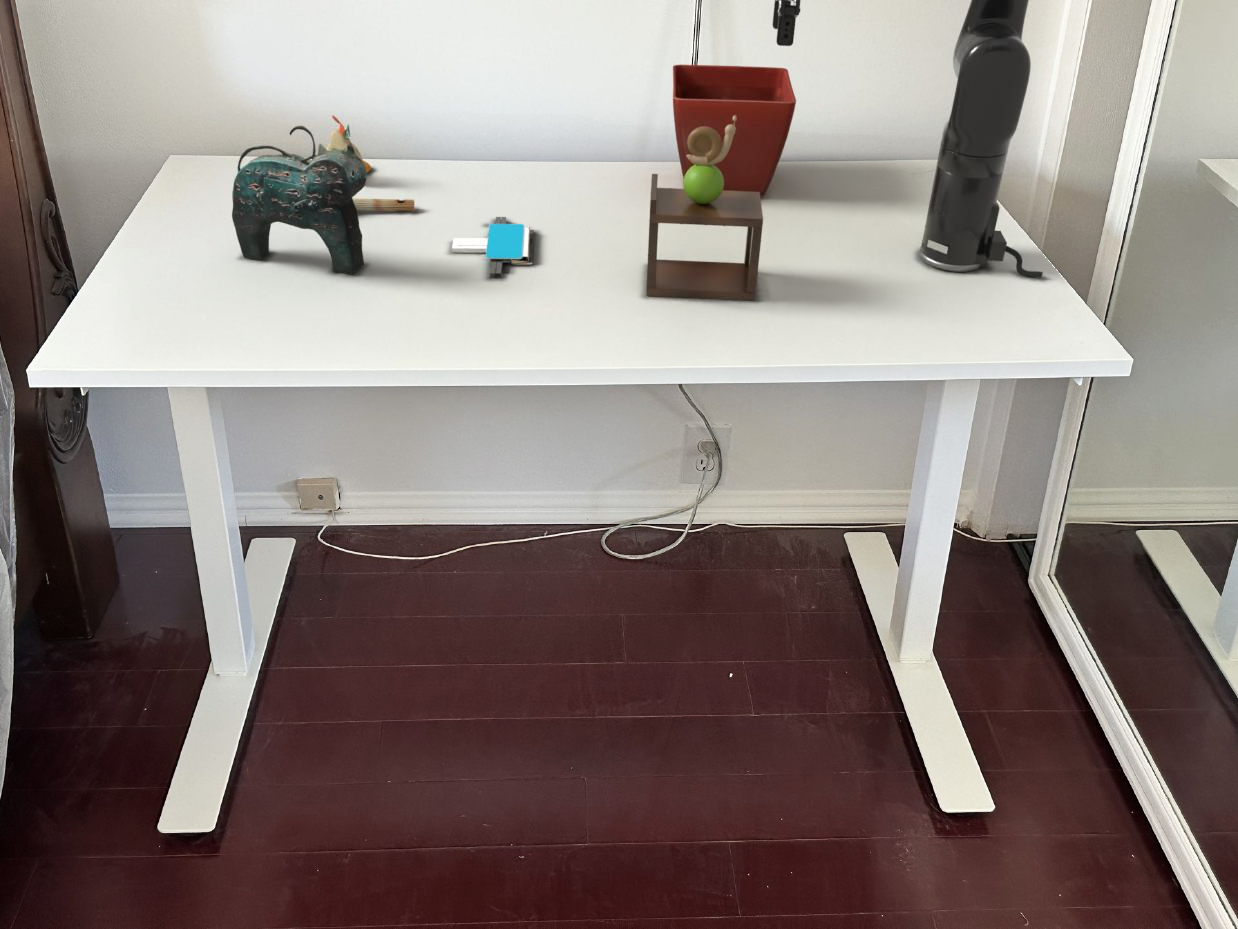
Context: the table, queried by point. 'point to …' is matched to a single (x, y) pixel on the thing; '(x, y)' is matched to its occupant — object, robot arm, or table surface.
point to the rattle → (343, 141)
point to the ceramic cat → (301, 201)
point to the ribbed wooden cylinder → (383, 204)
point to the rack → (701, 275)
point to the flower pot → (759, 123)
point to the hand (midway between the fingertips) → (782, 36)
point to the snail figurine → (706, 163)
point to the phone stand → (501, 246)
